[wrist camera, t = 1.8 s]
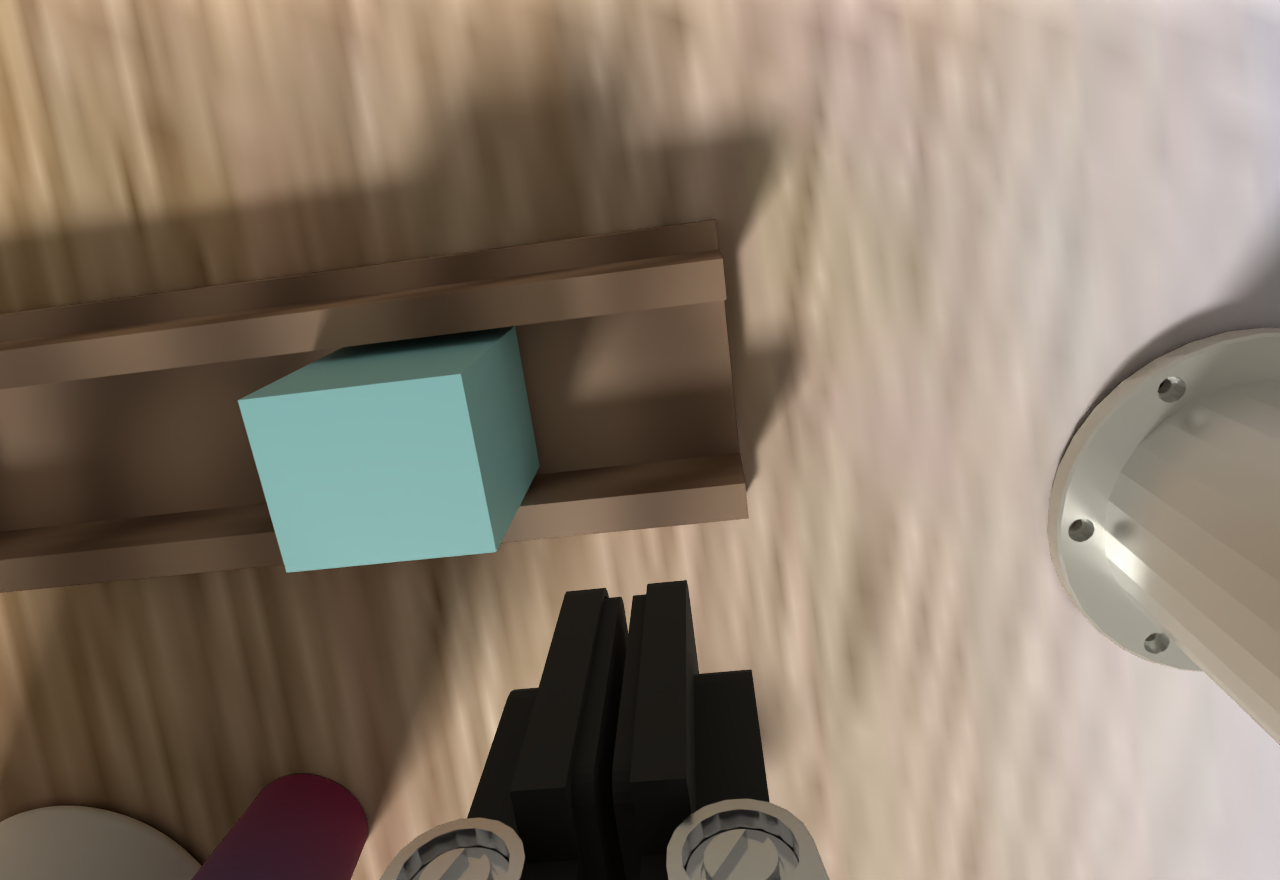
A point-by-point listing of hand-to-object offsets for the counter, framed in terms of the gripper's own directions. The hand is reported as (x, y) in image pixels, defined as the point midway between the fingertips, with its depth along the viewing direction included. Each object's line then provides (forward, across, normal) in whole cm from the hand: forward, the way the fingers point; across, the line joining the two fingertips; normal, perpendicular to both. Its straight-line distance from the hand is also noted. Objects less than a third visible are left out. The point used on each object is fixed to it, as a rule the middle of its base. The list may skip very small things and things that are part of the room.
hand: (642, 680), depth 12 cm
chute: (+19, +13, 0) cm, 23 cm away
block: (+18, +8, 0) cm, 20 cm away
